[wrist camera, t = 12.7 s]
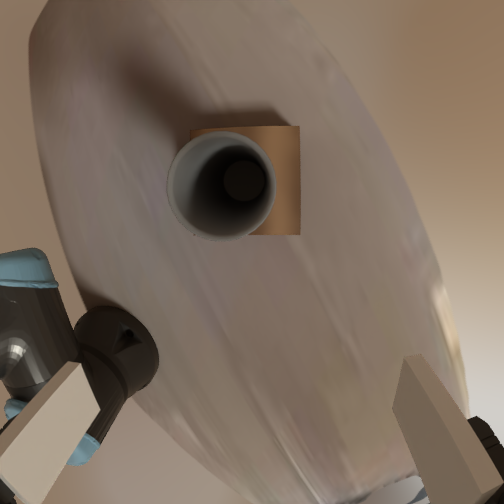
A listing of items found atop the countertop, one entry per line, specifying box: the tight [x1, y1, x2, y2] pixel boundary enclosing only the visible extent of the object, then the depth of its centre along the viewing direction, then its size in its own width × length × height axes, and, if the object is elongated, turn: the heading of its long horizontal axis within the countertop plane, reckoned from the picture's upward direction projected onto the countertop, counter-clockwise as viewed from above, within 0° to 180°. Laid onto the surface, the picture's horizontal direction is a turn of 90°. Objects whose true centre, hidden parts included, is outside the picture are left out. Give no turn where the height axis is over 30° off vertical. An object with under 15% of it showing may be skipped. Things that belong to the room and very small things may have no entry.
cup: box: [167, 131, 277, 241], centre depth 25 cm, size 7×7×15 cm
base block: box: [190, 126, 301, 235], centre depth 34 cm, size 12×12×4 cm
